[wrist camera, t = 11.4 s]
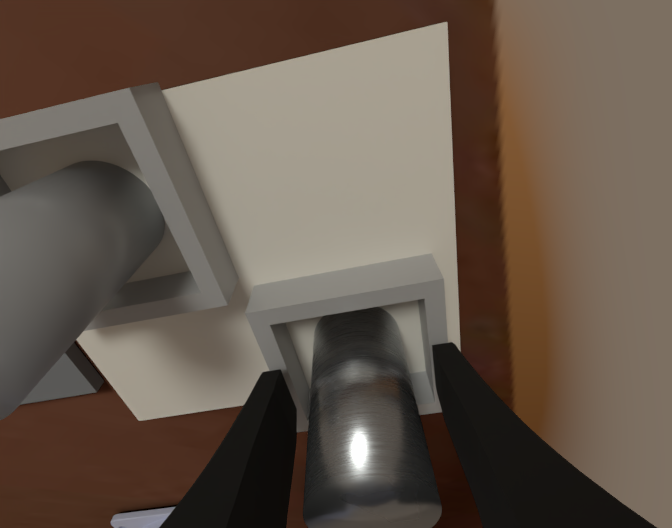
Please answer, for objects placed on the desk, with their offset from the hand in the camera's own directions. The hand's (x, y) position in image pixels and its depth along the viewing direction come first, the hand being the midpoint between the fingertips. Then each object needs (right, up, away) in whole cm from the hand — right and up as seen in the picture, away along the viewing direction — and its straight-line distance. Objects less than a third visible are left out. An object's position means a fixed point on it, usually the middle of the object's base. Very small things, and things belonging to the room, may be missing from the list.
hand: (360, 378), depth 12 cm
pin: (0, +1, +2) cm, 2 cm away
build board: (-4, +4, +1) cm, 6 cm away
